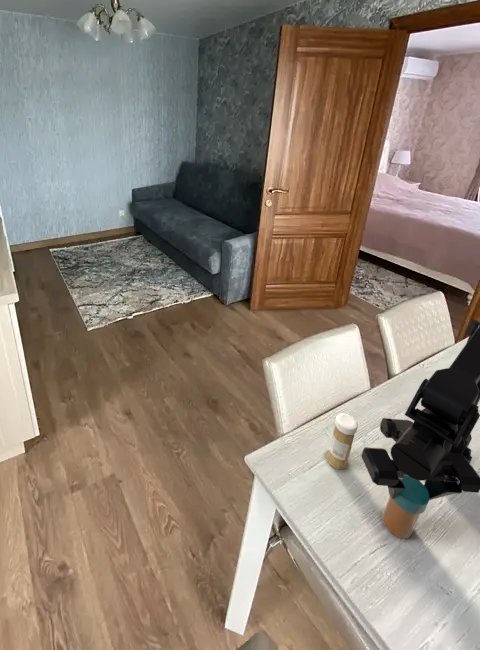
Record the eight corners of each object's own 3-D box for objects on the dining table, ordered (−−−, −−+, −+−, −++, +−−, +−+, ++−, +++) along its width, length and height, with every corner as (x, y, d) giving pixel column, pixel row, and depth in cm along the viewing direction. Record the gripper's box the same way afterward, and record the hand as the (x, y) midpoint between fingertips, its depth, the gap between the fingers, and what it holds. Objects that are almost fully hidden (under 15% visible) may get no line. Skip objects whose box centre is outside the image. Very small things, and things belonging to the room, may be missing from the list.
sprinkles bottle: (350, 463, 83) (362, 423, 78) (339, 473, 81) (350, 432, 76) (333, 448, 87) (343, 409, 82) (322, 458, 84) (332, 418, 79)
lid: (383, 480, 71) (387, 471, 70) (414, 483, 71) (418, 473, 70) (398, 512, 65) (402, 503, 64) (432, 516, 65) (436, 506, 64)
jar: (403, 511, 73) (416, 478, 69) (416, 540, 69) (432, 506, 65) (377, 509, 74) (389, 476, 70) (389, 537, 69) (403, 503, 65)
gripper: (454, 408, 69) (431, 461, 75) (358, 402, 70) (343, 455, 76) (498, 461, 59) (468, 518, 65) (384, 453, 60) (365, 510, 66)
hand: (407, 497), depth 68 cm, fingers closed on lid, 6 cm apart
